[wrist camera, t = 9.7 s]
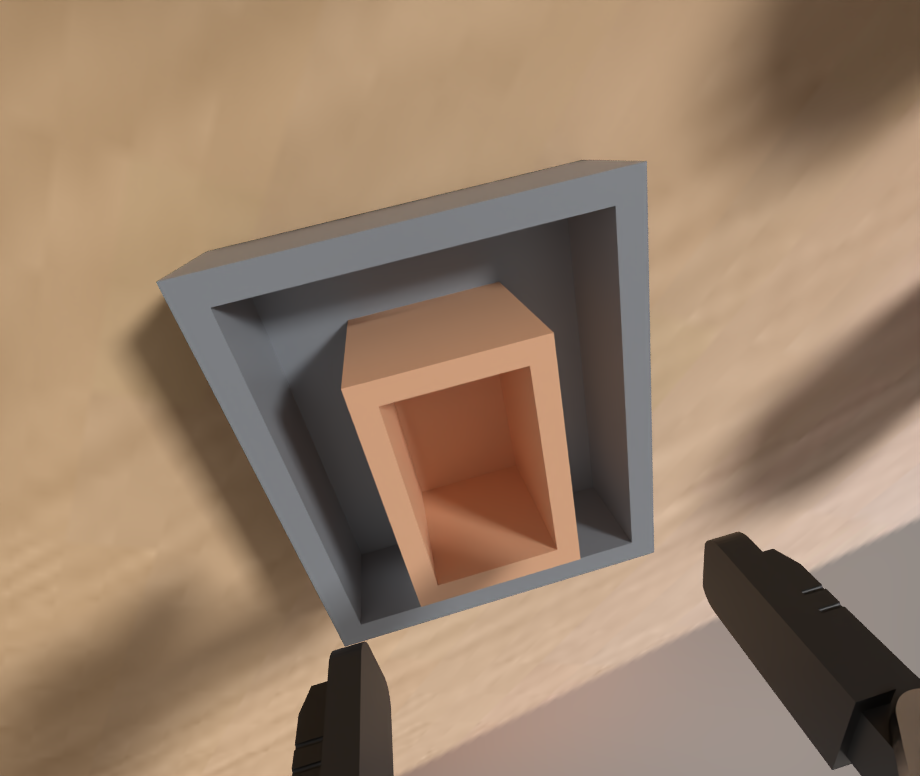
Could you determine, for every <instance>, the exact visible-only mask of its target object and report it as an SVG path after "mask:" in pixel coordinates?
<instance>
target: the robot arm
mask: <svg viewBox="0 0 920 776" xmlns="http://www.w3.org/2000/svg"><path fill="white" fill-rule="evenodd" d="M703 588H704V591H705V595H706V597H707V599H708V602H709V603H710V605H711V607H712V609H713V610H714V612H715V613H716V614H717V616H718V617H719V618H720V620H721V621H722V623H723V624H724V625H725V627H726V628H727V629H728V631H729V632H730V633H731V635H732V636H733V637H734V639H735V640H736V641H737V643H738V644H739V645H740V647H741V648H742V649H743V651H744V652H745V653H746V655H747V656H748V657H749V659H750V660H751V661H752V663H753V664H754V665H755V667H756V668H757V670H758V671H759V672H760V674H761V675H762V676H763V677H764V679H765V680H766V682H767V683H768V684H769V686H770V687H771V688H772V690H773V691H774V692H775V694H776V695H777V696H778V698H779V699H780V700H781V702H782V703H783V704H784V706H785V707H786V708H787V710H788V711H789V712H790V714H791V715H792V716H793V718H794V719H795V720H796V722H797V723H798V725H799V726H800V727H801V728H802V730H803V731H804V733H805V734H806V735H807V737H808V738H809V739H810V741H811V742H812V743H813V745H814V746H815V747H816V749H817V750H818V751H819V753H820V754H821V755H822V757H823V758H824V760H825V761H826V762H827V763H828V765H829V766H830V768H831V769H832V770H834V769H837V768H840V767H843V766H846V765H849V764H853V766H854V767H855V768H856V769H857V771H858V772H859V773H860V775H861V776H920V678H918V677H917V676H916V675H915V674H914V673H913V672H912V671H911V670H910V669H909V668H907V666H905V665H904V664H903V663H902V662H901V661H900V660H899V659H898V658H897V657H896V656H895V655H894V654H893V653H892V652H891V651H890V650H889V649H888V648H887V647H886V646H885V645H884V644H883V643H882V642H881V641H880V640H879V639H877V638H876V637H875V636H874V635H873V634H872V633H871V632H870V631H869V630H868V629H867V628H866V627H865V626H864V625H863V624H862V623H861V622H860V621H859V620H858V619H857V618H855V616H854V615H853V614H852V613H851V612H850V611H848V610H847V609H846V608H845V607H842V606H841V605H840V602H839V601H838V600H837V599H836V598H835V597H834V596H833V595H832V594H831V593H830V592H829V591H828V590H827V589H824V588H823V587H822V585H821V583H819V582H818V581H817V580H816V579H815V578H814V577H813V576H812V575H811V574H810V573H809V572H808V571H807V570H806V569H805V568H804V567H803V566H802V565H801V564H799V563H798V562H796V561H794V560H792V559H791V558H789V557H787V556H785V555H783V554H782V553H780V552H778V551H776V550H775V549H771V550H767V551H764V552H762V551H761V550H760V549H759V548H758V547H757V546H756V545H755V544H754V543H753V541H752V540H751V539H750V538H748V537H747V536H746V535H745V534H743V533H741V532H735V533H732V534H729V535H725V536H722V537H719V538H715V539H712V540H708V541H707V542H706V543H705V550H704V570H703ZM295 746H296V749H295V750H294V756H293V764H292V772H293V774H292V776H394V775H393V749H392V723H391V704H390V696H389V691H388V686H387V683H386V680H385V677H384V675H383V673H382V671H381V669H380V667H379V665H378V663H377V661H376V659H375V657H374V655H373V653H372V651H371V649H370V647H369V645H368V644H367V642H361V643H358V644H354V645H351V646H348V647H344V648H341V649H338V650H334V651H332V653H331V655H330V659H329V668H328V681H327V682H324V683H320V684H317V685H314V686H311V688H310V690H309V693H308V695H307V697H306V699H305V702H304V704H303V706H302V708H301V711H300V713H299V716H298V724H297V732H296V740H295Z"/></svg>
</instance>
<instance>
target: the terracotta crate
mask: <svg viewBox="0 0 920 776" xmlns="http://www.w3.org/2000/svg"><path fill="white" fill-rule="evenodd" d="M341 391H342V393H343V396H344V399H345V401H346V404H347V407H348V410H349V412H350V415H351V418H352V420H353V423H354V426H355V429H356V431H357V434H358V437H359V440H360V442H361V445H362V448H363V450H364V453H365V456H366V459H367V461H368V464H369V467H370V469H371V472H372V475H373V478H374V480H375V483H376V486H377V488H378V491H379V494H380V497H381V499H382V502H383V505H384V507H385V510H386V513H387V516H388V518H389V521H390V524H391V527H392V529H393V532H394V535H395V537H396V540H397V543H398V546H399V548H400V551H401V554H402V556H403V559H404V562H405V565H406V567H407V570H408V573H409V575H410V578H411V581H412V584H413V586H414V589H415V592H416V595H417V597H418V600H419V603H420V605H421V607H423V606H426V605H430V604H433V603H436V602H440V601H443V600H446V599H450V598H453V597H456V596H460V595H463V594H466V593H469V592H473V591H476V590H479V589H483V588H486V587H489V586H493V585H496V584H499V583H503V582H506V581H509V580H513V579H516V578H519V577H523V576H526V575H529V574H533V573H536V572H539V571H543V570H546V569H549V568H553V567H556V566H559V565H563V564H566V563H569V562H573V561H576V560H579V559H581V558H580V550H579V541H578V533H577V525H576V516H575V508H574V499H573V491H572V482H571V474H570V466H569V457H568V449H567V440H566V432H565V423H564V415H563V406H562V398H561V390H560V381H559V373H558V364H557V356H556V347H555V339H554V332H553V331H551V330H550V329H549V328H548V327H547V326H546V325H545V324H544V323H543V322H542V321H541V320H540V319H539V318H538V317H536V316H535V315H534V314H533V313H532V312H531V311H530V310H529V309H528V308H527V307H526V306H525V305H524V304H523V303H521V302H520V301H519V300H518V299H517V298H516V297H515V296H514V295H513V294H512V293H511V292H510V291H509V290H508V289H506V288H505V287H504V286H503V285H502V284H501V283H500V282H496V283H492V284H488V285H484V286H480V287H476V288H472V289H468V290H464V291H461V292H457V293H453V294H449V295H445V296H441V297H437V298H433V299H429V300H425V301H421V302H418V303H414V304H410V305H406V306H402V307H398V308H394V309H390V310H386V311H382V312H378V313H374V314H371V315H367V316H363V317H359V318H355V319H351V320H348V323H347V333H346V343H345V353H344V364H343V374H342V384H341Z"/></svg>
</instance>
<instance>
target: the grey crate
mask: <svg viewBox="0 0 920 776" xmlns="http://www.w3.org/2000/svg"><path fill="white" fill-rule="evenodd" d="M496 282H500V283H501V284H502V285H503V286H504V287H505V288H506V289H508V290H509V291H510V292H511V293H512V294H513V295H514V296H515V297H516V298H517V299H518V300H519V301H520V302H521V303H523V304H524V305H525V306H526V307H527V308H528V309H529V310H530V311H531V312H532V313H533V314H534V315H535V316H536V317H538V318H539V319H540V320H541V321H542V322H543V323H544V324H545V325H546V326H547V327H548V328H549V329H550V330H551V331H553V332H554V339H555V347H556V356H557V364H558V373H559V381H560V390H561V398H562V406H563V415H564V423H565V432H566V440H567V449H568V457H569V466H570V474H571V482H572V491H573V499H574V508H575V516H576V525H577V533H578V541H579V550H580V558H581V559H579V560H576V561H573V562H569V563H566V564H563V565H559V566H556V567H553V568H549V569H546V570H543V571H539V572H536V573H533V574H529V575H526V576H523V577H519V578H516V579H513V580H509V581H506V582H503V583H499V584H496V585H493V586H489V587H486V588H483V589H479V590H476V591H473V592H469V593H466V594H463V595H460V596H456V597H453V598H450V599H446V600H443V601H440V602H436V603H433V604H430V605H426V606H423V607H421V605H420V603H419V600H418V597H417V595H416V592H415V589H414V586H413V584H412V581H411V578H410V575H409V573H408V570H407V567H406V565H405V562H404V559H403V556H402V554H401V551H400V548H399V546H398V543H397V540H396V537H395V535H394V532H393V529H392V527H391V524H390V521H389V518H388V516H387V513H386V510H385V507H384V505H383V502H382V499H381V497H380V494H379V491H378V488H377V486H376V483H375V480H374V478H373V475H372V472H371V469H370V467H369V464H368V461H367V459H366V456H365V453H364V450H363V448H362V445H361V442H360V440H359V437H358V434H357V431H356V429H355V426H354V423H353V420H352V418H351V415H350V412H349V410H348V407H347V404H346V401H345V399H344V396H343V393H342V391H341V384H342V374H343V364H344V353H345V343H346V333H347V323H348V320H351V319H355V318H359V317H363V316H367V315H371V314H374V313H378V312H382V311H386V310H390V309H394V308H398V307H402V306H406V305H410V304H414V303H418V302H421V301H425V300H429V299H433V298H437V297H441V296H445V295H449V294H453V293H457V292H461V291H464V290H468V289H472V288H476V287H480V286H484V285H488V284H492V283H496ZM156 283H157V285H158V287H159V289H160V290H161V292H162V294H163V296H164V298H165V300H166V302H167V304H168V306H169V308H170V310H171V312H172V314H173V316H174V317H175V319H176V321H177V323H178V325H179V327H180V329H181V331H182V333H183V335H184V337H185V339H186V341H187V343H188V344H189V346H190V348H191V350H192V352H193V354H194V356H195V358H196V360H197V362H198V364H199V366H200V368H201V370H202V371H203V373H204V375H205V377H206V379H207V381H208V383H209V385H210V387H211V389H212V391H213V393H214V395H215V397H216V399H217V400H218V402H219V404H220V406H221V408H222V410H223V412H224V414H225V416H226V418H227V420H228V422H229V424H230V426H231V427H232V429H233V431H234V433H235V435H236V437H237V439H238V441H239V443H240V445H241V447H242V449H243V451H244V453H245V454H246V456H247V458H248V460H249V462H250V464H251V466H252V468H253V470H254V472H255V474H256V476H257V478H258V480H259V481H260V483H261V485H262V487H263V489H264V491H265V493H266V495H267V497H268V499H269V501H270V503H271V505H272V507H273V509H274V510H275V512H276V514H277V516H278V518H279V520H280V522H281V524H282V526H283V528H284V530H285V532H286V534H287V536H288V537H289V539H290V541H291V543H292V545H293V547H294V549H295V551H296V553H297V555H298V557H299V559H300V561H301V563H302V564H303V566H304V568H305V570H306V572H307V574H308V576H309V578H310V580H311V582H312V584H313V586H314V588H315V590H316V591H317V593H318V595H319V597H320V599H321V601H322V603H323V605H324V607H325V609H326V611H327V613H328V615H329V617H330V618H331V620H332V622H333V624H334V626H335V628H336V630H337V632H338V634H339V636H340V638H341V640H342V642H343V644H344V646H348V645H352V644H355V643H358V642H362V641H365V640H368V639H371V638H375V637H378V636H381V635H384V634H388V633H391V632H394V631H398V630H401V629H404V628H407V627H411V626H414V625H417V624H421V623H424V622H427V621H430V620H434V619H437V618H440V617H444V616H447V615H450V614H453V613H457V612H460V611H463V610H467V609H470V608H473V607H476V606H480V605H483V604H486V603H489V602H493V601H496V600H499V599H503V598H506V597H509V596H512V595H516V594H519V593H522V592H526V591H529V590H532V589H535V588H539V587H542V586H545V585H549V584H552V583H555V582H558V581H562V580H565V579H568V578H571V577H575V576H578V575H581V574H585V573H588V572H591V571H594V570H598V569H601V568H604V567H608V566H611V565H614V564H617V563H621V562H624V561H627V560H631V559H634V558H637V557H640V556H644V555H647V554H650V553H653V552H654V526H653V472H652V419H651V365H650V312H649V258H648V204H647V161H614V160H580V161H576V162H572V163H568V164H564V165H560V166H556V167H551V168H547V169H543V170H539V171H535V172H531V173H527V174H523V175H519V176H515V177H510V178H506V179H502V180H498V181H494V182H490V183H486V184H482V185H478V186H474V187H469V188H465V189H461V190H457V191H453V192H449V193H445V194H441V195H437V196H432V197H428V198H424V199H420V200H416V201H412V202H408V203H404V204H400V205H396V206H391V207H387V208H383V209H379V210H375V211H371V212H367V213H363V214H359V215H355V216H350V217H346V218H342V219H338V220H334V221H330V222H326V223H322V224H318V225H314V226H309V227H305V228H301V229H297V230H293V231H289V232H285V233H281V234H277V235H272V236H268V237H264V238H260V239H256V240H252V241H248V242H244V243H240V244H236V245H231V246H227V247H223V248H219V249H215V250H211V251H207V252H205V253H203V254H201V255H200V256H198V257H196V258H195V259H193V260H191V261H190V262H188V263H186V264H185V265H183V266H182V267H180V268H178V269H177V270H175V271H173V272H172V273H170V274H168V275H167V276H165V277H163V278H162V279H160V280H158V281H157V282H156Z"/></svg>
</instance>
